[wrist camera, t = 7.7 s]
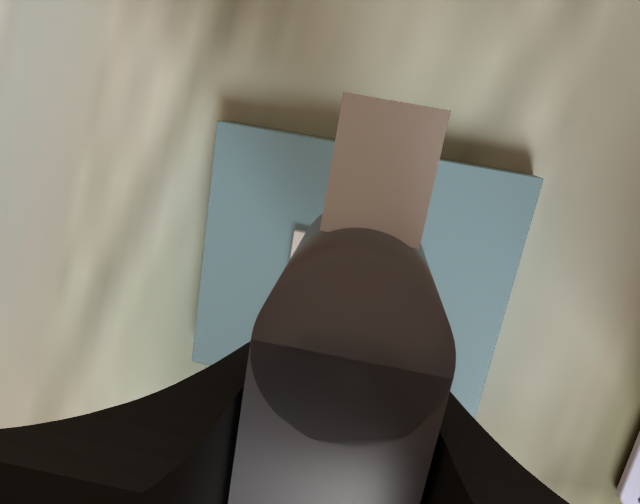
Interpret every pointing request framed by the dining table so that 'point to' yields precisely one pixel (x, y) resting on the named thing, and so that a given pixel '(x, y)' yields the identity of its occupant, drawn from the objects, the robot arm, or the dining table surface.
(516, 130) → the dining table surface
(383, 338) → the plug
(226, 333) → the board
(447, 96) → the dining table surface
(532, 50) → the dining table surface
